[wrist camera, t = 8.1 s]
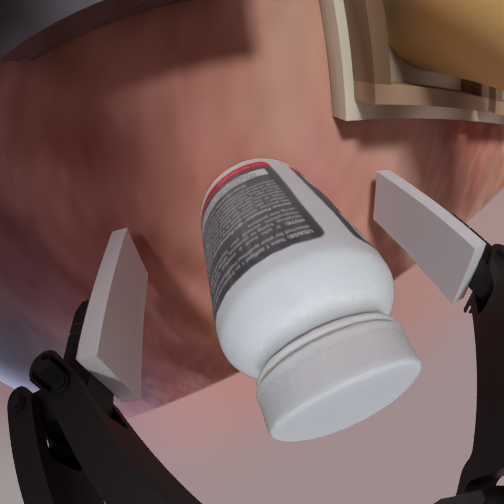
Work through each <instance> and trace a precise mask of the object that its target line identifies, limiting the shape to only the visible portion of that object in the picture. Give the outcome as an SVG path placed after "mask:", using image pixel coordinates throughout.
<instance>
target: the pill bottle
mask: <svg viewBox="0 0 504 504" xmlns="http://www.w3.org/2000/svg"><path fill="white" fill-rule="evenodd" d="M201 230H202V238H203V247H204V253H205V260H206V266H207V273H208V279H209V286H210V293H211V299H212V306H213V314H214V320H215V327H216V332H217V336H218V339H219V343H220V346H221V348H222V351H223V353H224V355H225V356H226V358H227V359H228V360H229V362H230V363H231V364H232V365H233V366H234V367H235V368H236V369H238V370H239V371H240V372H242V373H244V374H246V375H248V376H250V377H252V378H255V379H257V400H258V402H259V405H260V407H261V409H262V413H263V416H264V419H265V422H266V426H267V429H268V431H269V433H270V435H271V437H273V438H274V439H275V440H278V441H284V442H294V441H302V440H309V439H314V438H318V437H322V436H325V435H328V434H331V433H334V432H336V431H339V430H342V429H344V428H347V427H349V426H351V425H354V424H356V423H358V422H360V421H362V420H364V419H365V418H368V417H370V416H371V415H373V414H374V413H376V412H377V411H379V410H381V409H382V408H384V407H385V406H387V405H388V404H389V403H391V402H392V401H394V400H395V399H396V398H397V397H399V396H400V395H401V394H402V393H403V392H404V391H405V390H406V389H408V387H409V386H410V385H411V384H412V383H413V382H414V380H415V379H416V378H417V376H418V375H419V373H420V370H421V361H420V359H419V357H418V355H417V353H416V352H415V350H414V348H413V346H412V345H411V343H410V341H409V340H408V338H407V336H406V335H405V333H404V330H403V328H402V327H401V326H400V325H399V324H398V323H397V322H396V320H395V319H394V318H393V317H392V316H390V312H391V310H392V306H393V300H394V281H393V277H392V274H391V272H390V269H389V267H388V265H387V264H386V262H385V261H384V260H383V258H382V257H381V255H380V254H379V252H378V251H377V250H376V249H375V248H374V247H373V246H372V245H371V244H370V243H369V242H368V241H367V239H366V238H365V237H364V236H363V235H362V234H361V233H360V232H359V231H358V230H357V229H356V228H355V226H354V225H353V224H352V223H351V222H350V221H349V220H348V219H347V218H346V217H345V216H344V215H343V214H342V213H341V212H340V211H339V210H338V209H337V208H336V207H335V206H334V205H333V204H332V202H331V201H330V200H329V199H328V198H327V197H326V196H325V195H324V194H323V193H321V191H319V189H318V188H316V187H315V186H314V185H313V184H312V183H311V182H310V181H309V180H308V179H307V178H306V177H305V176H304V175H303V174H301V173H300V172H299V171H298V170H297V169H295V168H294V167H292V166H290V165H289V164H287V163H284V162H281V161H279V160H274V159H265V158H263V159H252V160H246V161H243V162H241V163H239V164H237V165H235V166H233V167H231V168H229V169H228V170H226V171H225V172H223V173H222V174H221V175H220V176H219V177H218V178H217V179H215V180H214V182H213V183H212V185H211V186H210V187H209V189H208V191H207V192H206V194H205V196H204V199H203V203H202V207H201Z"/></svg>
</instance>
